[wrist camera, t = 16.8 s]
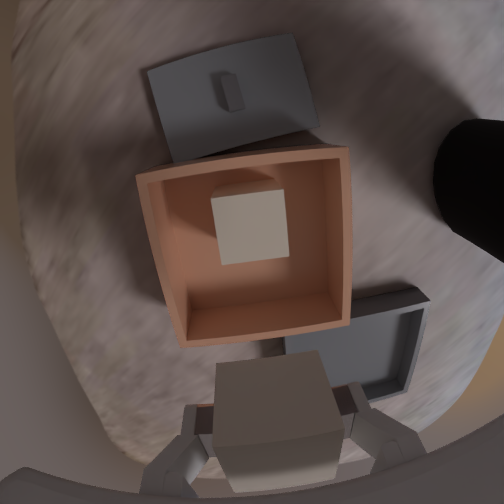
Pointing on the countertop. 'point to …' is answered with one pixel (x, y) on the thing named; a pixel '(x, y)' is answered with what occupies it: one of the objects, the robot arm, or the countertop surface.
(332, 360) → the tray
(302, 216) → the terracotta bin
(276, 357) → the stone
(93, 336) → the countertop surface
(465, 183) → the coffee jar
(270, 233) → the cream cube
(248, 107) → the tray lid
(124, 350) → the countertop surface
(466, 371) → the countertop surface
